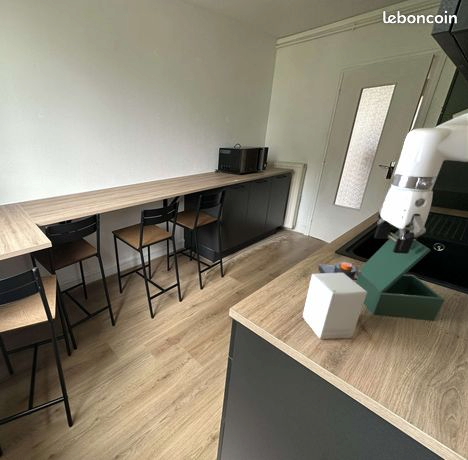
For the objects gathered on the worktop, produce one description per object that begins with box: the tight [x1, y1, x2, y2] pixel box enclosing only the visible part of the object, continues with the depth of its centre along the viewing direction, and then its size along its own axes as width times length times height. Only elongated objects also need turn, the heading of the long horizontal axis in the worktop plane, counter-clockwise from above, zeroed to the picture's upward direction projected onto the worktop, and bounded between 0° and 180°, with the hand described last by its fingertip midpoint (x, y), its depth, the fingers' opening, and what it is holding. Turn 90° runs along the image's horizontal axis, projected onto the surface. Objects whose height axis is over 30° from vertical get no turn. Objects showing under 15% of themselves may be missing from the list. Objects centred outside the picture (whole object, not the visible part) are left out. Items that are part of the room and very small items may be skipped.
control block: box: [317, 262, 358, 281], centre depth 91 cm, size 10×8×4 cm
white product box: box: [302, 273, 367, 340], centre depth 67 cm, size 9×9×15 cm
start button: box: [340, 261, 353, 270], centre depth 90 cm, size 3×3×2 cm
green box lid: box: [359, 229, 432, 293], centre depth 70 cm, size 15×12×5 cm
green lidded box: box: [355, 270, 445, 322], centre depth 74 cm, size 15×12×9 cm
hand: (389, 244), depth 69 cm, fingers open, 8 cm apart
